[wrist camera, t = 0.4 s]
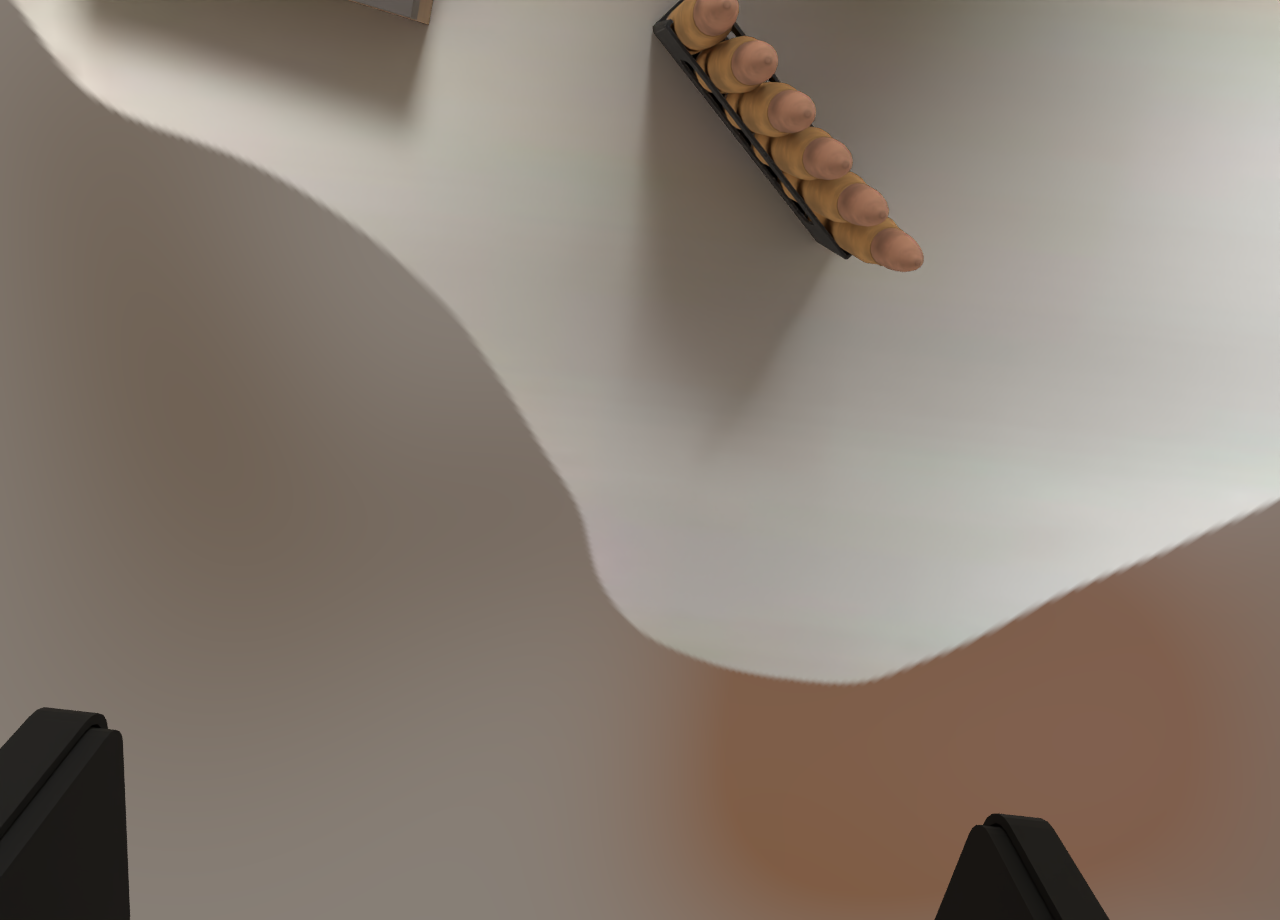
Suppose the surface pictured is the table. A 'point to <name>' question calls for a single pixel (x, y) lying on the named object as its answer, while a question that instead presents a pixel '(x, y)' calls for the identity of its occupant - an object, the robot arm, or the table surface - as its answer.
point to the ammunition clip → (783, 134)
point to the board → (402, 8)
